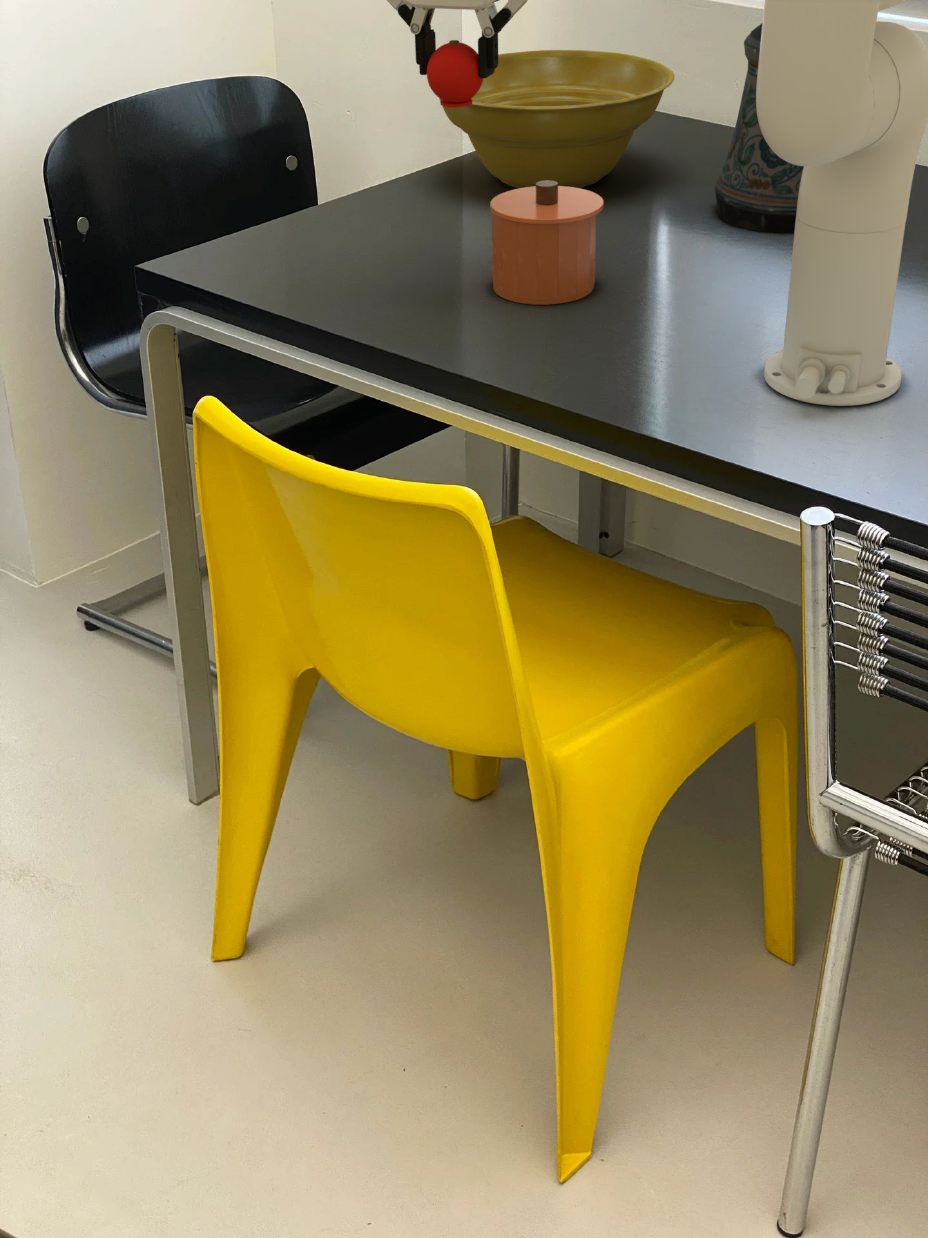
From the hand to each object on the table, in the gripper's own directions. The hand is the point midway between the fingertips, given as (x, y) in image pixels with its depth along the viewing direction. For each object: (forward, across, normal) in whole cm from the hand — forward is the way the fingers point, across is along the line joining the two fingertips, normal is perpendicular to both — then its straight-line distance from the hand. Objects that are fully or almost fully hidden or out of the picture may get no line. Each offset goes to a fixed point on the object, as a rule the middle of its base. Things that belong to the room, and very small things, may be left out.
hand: (457, 71), depth 149 cm
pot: (+22, +10, 0) cm, 24 cm away
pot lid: (+13, +10, 0) cm, 17 cm away
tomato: (+3, 0, -1) cm, 3 cm away
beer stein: (+23, +32, +33) cm, 51 cm away
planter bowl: (+23, -2, +41) cm, 47 cm away
